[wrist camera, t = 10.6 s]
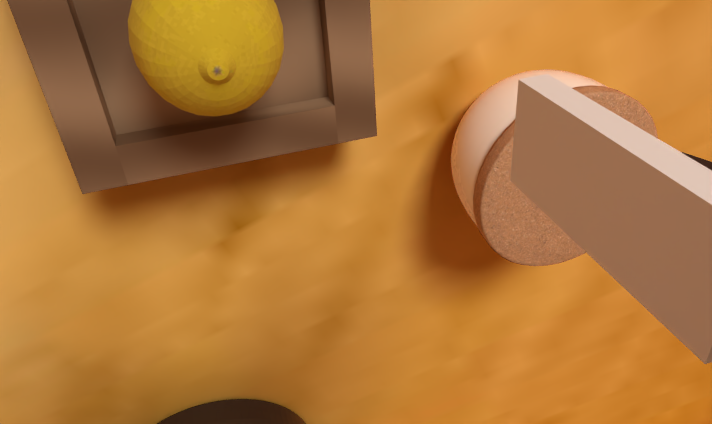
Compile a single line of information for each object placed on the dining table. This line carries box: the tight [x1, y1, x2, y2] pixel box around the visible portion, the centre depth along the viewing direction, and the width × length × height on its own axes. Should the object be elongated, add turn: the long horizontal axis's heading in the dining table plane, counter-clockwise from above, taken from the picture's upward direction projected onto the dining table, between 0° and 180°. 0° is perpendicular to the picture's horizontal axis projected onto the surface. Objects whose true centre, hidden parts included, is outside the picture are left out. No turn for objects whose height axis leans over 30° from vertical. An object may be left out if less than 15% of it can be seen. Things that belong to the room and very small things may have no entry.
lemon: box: [128, 0, 284, 116], centre depth 22 cm, size 6×6×8 cm
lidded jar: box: [451, 69, 658, 266], centre depth 34 cm, size 11×11×9 cm
